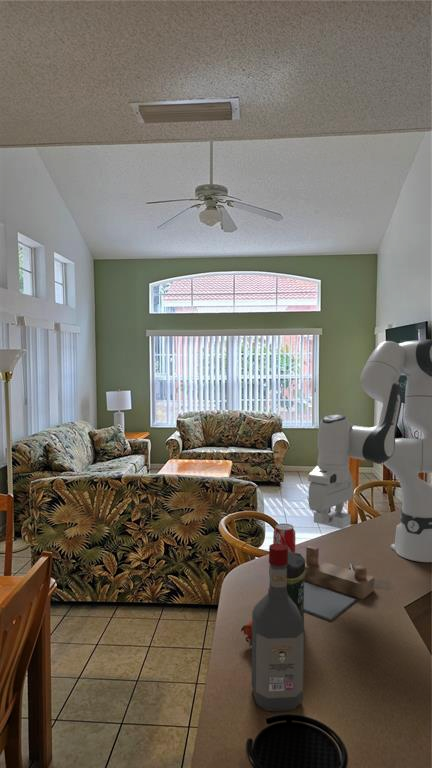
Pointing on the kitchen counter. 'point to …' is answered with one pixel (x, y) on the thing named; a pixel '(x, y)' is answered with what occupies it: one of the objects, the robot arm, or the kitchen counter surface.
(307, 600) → the rubber mat
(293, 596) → the coffee jar
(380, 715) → the kitchen counter surface
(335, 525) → the lever cap
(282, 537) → the soda can
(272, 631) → the liquor
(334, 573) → the hand plane
